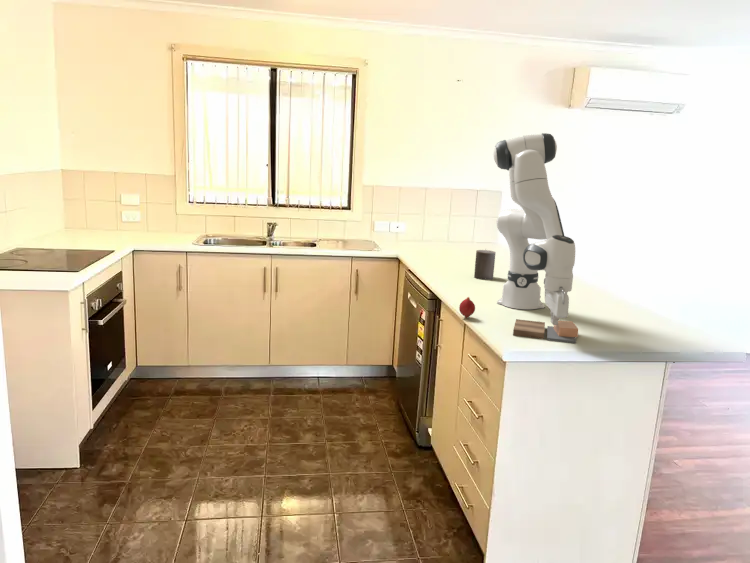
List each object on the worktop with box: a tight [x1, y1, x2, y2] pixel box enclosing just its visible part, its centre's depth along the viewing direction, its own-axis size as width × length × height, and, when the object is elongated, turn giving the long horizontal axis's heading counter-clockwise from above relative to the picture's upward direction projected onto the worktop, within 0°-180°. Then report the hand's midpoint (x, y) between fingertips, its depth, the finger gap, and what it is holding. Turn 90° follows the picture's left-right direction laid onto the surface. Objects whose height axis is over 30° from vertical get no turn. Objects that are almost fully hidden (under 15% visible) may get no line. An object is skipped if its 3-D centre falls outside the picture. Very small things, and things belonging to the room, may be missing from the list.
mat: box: [546, 325, 577, 344], centre depth 191 cm, size 15×9×1 cm, turn 163°
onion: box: [458, 296, 476, 319], centre depth 209 cm, size 6×6×8 cm
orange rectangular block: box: [553, 320, 579, 338], centre depth 191 cm, size 9×6×3 cm, turn 174°
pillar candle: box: [473, 249, 496, 281], centre depth 285 cm, size 10×10×15 cm
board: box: [512, 318, 546, 340], centre depth 195 cm, size 14×10×2 cm
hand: (554, 323), depth 192 cm, fingers closed
